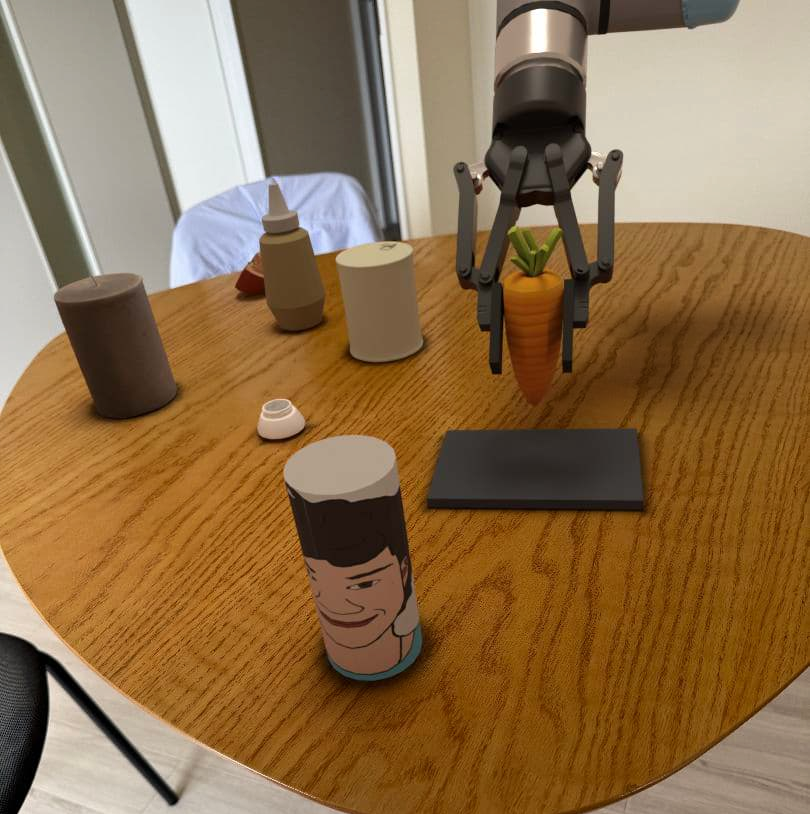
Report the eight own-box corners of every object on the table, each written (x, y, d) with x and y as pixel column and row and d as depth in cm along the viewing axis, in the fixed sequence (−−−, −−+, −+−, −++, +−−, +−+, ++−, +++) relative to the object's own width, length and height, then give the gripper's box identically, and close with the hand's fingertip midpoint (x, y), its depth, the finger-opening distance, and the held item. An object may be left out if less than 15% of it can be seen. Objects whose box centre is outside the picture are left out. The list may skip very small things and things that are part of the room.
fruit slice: (246, 283, 125) (238, 252, 122) (287, 280, 124) (280, 248, 121) (231, 302, 118) (223, 269, 115) (274, 299, 117) (267, 265, 114)
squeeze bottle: (261, 327, 108) (228, 189, 98) (307, 308, 112) (281, 173, 101) (294, 340, 103) (263, 195, 92) (342, 319, 107) (318, 179, 96)
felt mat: (636, 437, 73) (637, 427, 73) (643, 510, 64) (643, 500, 63) (447, 438, 77) (446, 429, 77) (427, 507, 68) (426, 498, 67)
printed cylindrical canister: (310, 643, 56) (263, 464, 47) (386, 600, 59) (355, 423, 50) (361, 696, 51) (320, 509, 42) (441, 647, 54) (418, 461, 45)
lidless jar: (256, 425, 84) (262, 446, 80) (250, 400, 83) (255, 421, 79) (301, 415, 85) (309, 435, 81) (296, 390, 83) (304, 410, 79)
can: (437, 337, 98) (428, 239, 91) (395, 367, 92) (382, 265, 85) (378, 328, 103) (365, 234, 96) (335, 356, 97) (318, 258, 90)
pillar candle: (109, 427, 88) (59, 297, 79) (87, 400, 95) (38, 277, 86) (190, 398, 92) (150, 271, 83) (162, 374, 99) (123, 254, 90)
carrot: (570, 394, 68) (573, 214, 59) (554, 422, 64) (554, 234, 55) (515, 389, 70) (510, 214, 61) (497, 416, 66) (488, 233, 57)
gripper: (649, 113, 65) (646, 381, 63) (439, 133, 69) (427, 385, 66) (658, 47, 58) (655, 346, 55) (423, 72, 62) (409, 353, 59)
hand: (530, 367), depth 61 cm, fingers closed on carrot, 5 cm apart
